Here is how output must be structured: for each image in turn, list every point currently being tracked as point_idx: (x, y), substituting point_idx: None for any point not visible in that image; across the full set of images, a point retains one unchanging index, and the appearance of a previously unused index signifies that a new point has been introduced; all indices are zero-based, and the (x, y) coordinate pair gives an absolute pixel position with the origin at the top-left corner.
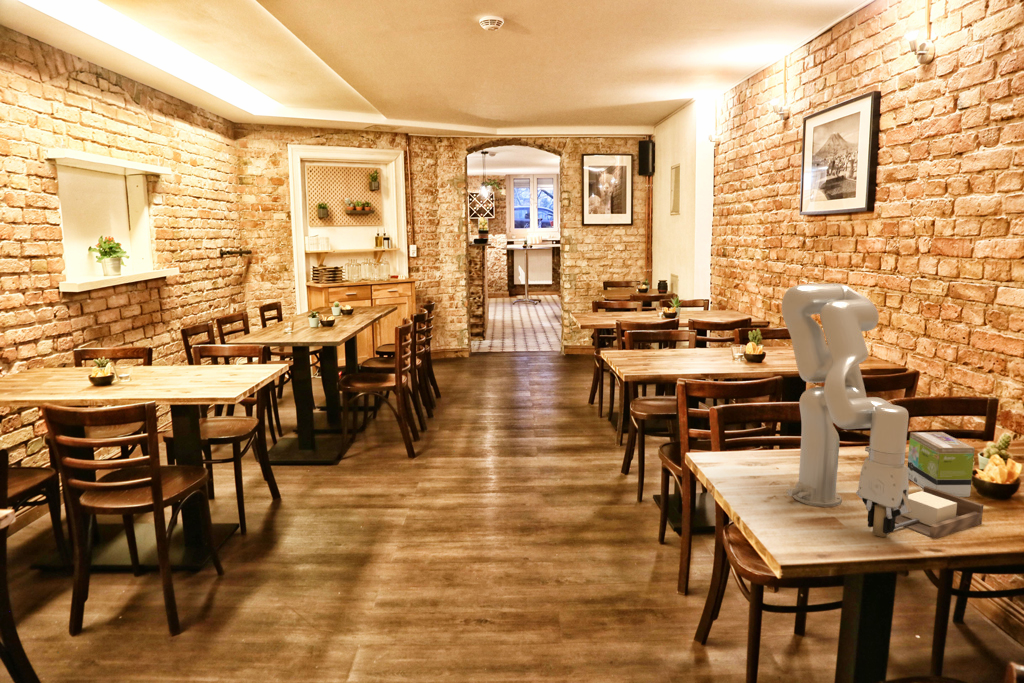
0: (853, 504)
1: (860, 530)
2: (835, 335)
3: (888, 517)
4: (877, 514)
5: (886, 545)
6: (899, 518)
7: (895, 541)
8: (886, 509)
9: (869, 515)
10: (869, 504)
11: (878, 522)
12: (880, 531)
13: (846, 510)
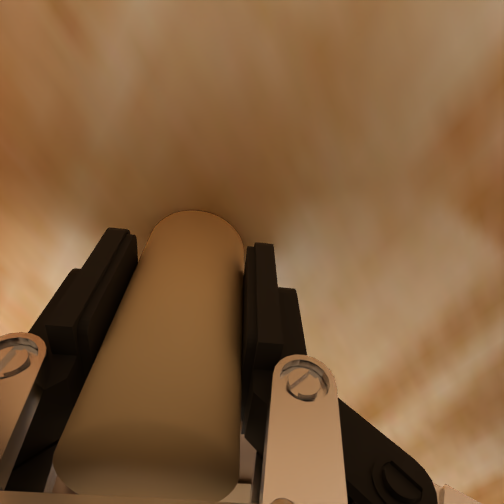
0: (474, 454)
1: (322, 217)
2: None
3: (34, 348)
4: (167, 338)
5: (54, 122)
6: (250, 460)
7: (84, 240)
8: (7, 439)
9: (268, 311)
10: (298, 436)
11: (164, 276)
12: (160, 236)
13: (489, 390)
